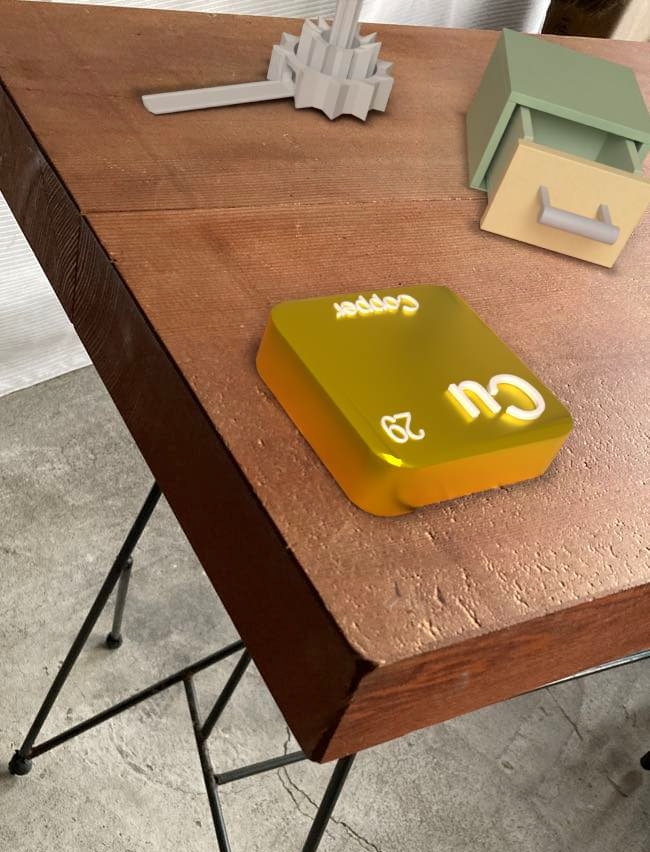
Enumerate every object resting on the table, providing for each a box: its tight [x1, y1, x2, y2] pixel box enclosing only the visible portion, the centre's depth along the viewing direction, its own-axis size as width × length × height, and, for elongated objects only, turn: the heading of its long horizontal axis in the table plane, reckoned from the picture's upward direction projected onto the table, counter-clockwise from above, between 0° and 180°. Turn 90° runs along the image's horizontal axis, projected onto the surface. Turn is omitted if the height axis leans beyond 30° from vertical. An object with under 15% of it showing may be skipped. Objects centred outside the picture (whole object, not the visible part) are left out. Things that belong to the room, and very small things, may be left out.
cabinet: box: [465, 26, 650, 193], centre depth 88 cm, size 15×13×9 cm
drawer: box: [479, 103, 650, 269], centre depth 80 cm, size 18×11×7 cm, turn 172°
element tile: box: [255, 284, 575, 518], centre depth 60 cm, size 15×15×5 cm
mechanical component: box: [141, 0, 395, 122], centre depth 82 cm, size 11×25×15 cm, turn 136°
